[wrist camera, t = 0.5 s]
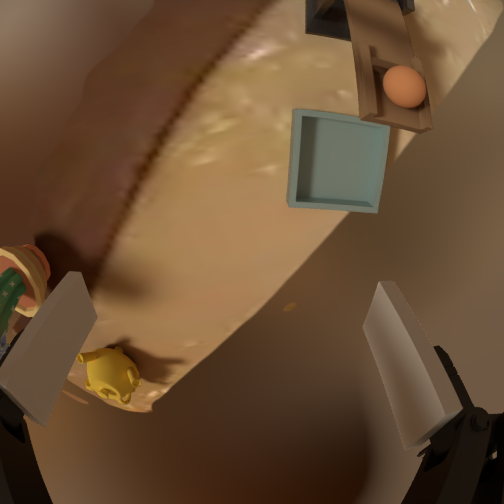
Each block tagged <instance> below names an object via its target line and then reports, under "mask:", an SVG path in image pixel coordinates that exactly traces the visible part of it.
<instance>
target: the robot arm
mask: <svg viewBox="0 0 504 504" xmlns="http://www.w3.org/2000/svg"><path fill="white" fill-rule="evenodd" d="M97 318H98V317H97V314H96V312H95V309H94V307H93V304H92V301H91V299H90V296H89V293H88V290H87V288H86V285H85V282H84V279H83V276H82V273H81V272H73V271H69V272H68V273H67V274H66V276H65V277H64V278H63V279H62V280H61V282H60V283H59V284H58V285H57V287H56V288H55V289H54V290H53V292H52V293H51V294H50V295H49V297H48V298H47V299H46V301H45V302H44V303H43V304H42V306H41V307H40V308H39V310H38V311H37V313H36V314H35V315H34V317H33V318H32V319H31V321H30V322H29V324H28V325H27V327H26V328H25V329H23V330H22V331H20V332H19V333H18V334H17V335H16V336H15V337H14V339H13V340H12V342H11V343H10V347H9V346H8V348H7V350H6V351H5V352H6V353H4V354H3V356H2V358H1V359H0V504H53V503H52V500H51V498H50V496H49V493H48V491H47V488H46V486H45V483H44V481H43V478H42V475H41V473H40V470H39V467H38V464H37V461H36V457H35V454H34V451H33V447H32V444H31V440H30V436H29V432H28V428H27V424H26V421H25V419H24V418H23V416H24V414H26V416H28V417H29V418H30V419H31V420H32V421H34V422H35V423H37V424H40V425H42V426H44V427H46V424H47V422H48V419H49V416H50V414H51V412H52V409H53V407H54V404H55V402H56V400H57V397H58V395H59V393H60V391H61V388H62V386H63V384H64V382H65V380H66V378H67V375H68V373H69V371H70V369H71V367H72V365H73V363H74V361H75V359H76V357H77V355H78V353H79V351H80V349H81V347H82V345H83V343H84V342H85V340H86V338H87V336H88V334H89V332H90V330H91V329H92V327H93V325H94V323H95V321H96V320H97ZM363 330H364V332H365V335H366V337H367V340H368V343H369V345H370V348H371V350H372V353H373V356H374V358H375V361H376V364H377V366H378V369H379V372H380V375H381V378H382V381H383V383H384V386H385V389H386V392H387V395H388V398H389V401H390V404H391V408H392V411H393V414H394V417H395V420H396V424H397V427H398V430H399V434H400V437H401V441H402V444H403V448H404V450H408V449H411V448H414V447H417V446H420V445H422V444H423V443H424V442H426V441H427V440H428V439H430V442H431V444H430V445H429V446H427V447H426V448H424V449H423V450H422V451H421V452H419V454H418V455H417V456H418V457H420V456H421V455H423V454H424V453H425V455H424V457H423V460H422V462H421V465H420V467H419V469H418V472H417V473H416V476H415V478H414V480H413V482H412V484H411V486H410V488H409V490H408V492H407V494H406V495H405V497H404V499H403V501H402V503H401V504H504V412H503V413H502V414H488V413H487V412H486V410H484V409H483V408H480V407H474V405H473V403H472V401H471V399H470V397H469V395H468V393H467V391H466V389H465V386H464V384H463V383H462V380H461V379H460V376H459V375H457V371H456V369H455V367H453V363H452V361H451V359H450V357H449V355H448V354H447V353H446V352H445V351H444V350H443V349H442V348H441V347H440V346H434V347H433V346H432V344H431V342H430V340H429V339H428V337H427V335H426V333H425V332H424V330H423V328H422V326H421V325H420V323H419V321H418V319H417V318H416V316H415V314H414V313H413V311H412V309H411V308H410V306H409V305H408V303H407V301H406V300H405V298H404V296H403V295H402V293H401V292H400V290H399V289H398V287H397V286H396V284H395V283H394V281H379V283H378V286H377V289H376V292H375V294H374V298H373V300H372V303H371V306H370V309H369V312H368V314H367V317H366V319H365V322H364V325H363ZM496 451H497V457H496V458H495V459H493V457H492V454H493V453H494V452H496Z"/></svg>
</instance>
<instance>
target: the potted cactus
mask: <svg viewBox="0 0 504 504" xmlns="http://www.w3.org/2000/svg"><path fill="white" fill-rule="evenodd" d="M49 276H50V266H49V263H48V261H47V259H46V257H45V255H44V254H43V253H42V252H41V251H40V250H39V248H38V247H37V246H34V245H32V244H26V245H24V246H14V247H10V248H9V247H7V246H4V247H2V248H0V359H1V358H2V356H3V354H4V353H5V351H6V350H7V348H8V346H9V344H7V343H6V333H7V330H8V326H9V321H10V317H11V315H12V313H13V311H14V309H15V310H16V311H18V312H20V313H21V314H23V315H25V316H27V317H34V315H35V314H36V313H37V311H38V310H39V308H40V307H41V306H42V304H43V303H44V302H45V299H44V294H45V291H46V288H47V280H48V278H49Z"/></svg>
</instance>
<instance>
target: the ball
mask: <svg viewBox="0 0 504 504" xmlns="http://www.w3.org/2000/svg"><path fill="white" fill-rule="evenodd" d="M383 87H384V91H385V93H386V95H387V96H388V98H389V99H390V100H391V101H392V102H393V103H395V104H396V105H398V106H401V107H404V108H412V107H416V106H418V105H419V104H420V103H421V102H422V101H423V100H424V98H425V95H426V85H425V82H424V80H423V78H422V77H421V75H420V74H419V73H418V72H417V71H415V70H414V69H412V68H410V67H407V66H402V65H399V66H394V67H392V68H390V69H389V70H388V71H387V72H386V74H385V76H384V79H383Z"/></svg>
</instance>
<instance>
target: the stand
mask: <svg viewBox="0 0 504 504" xmlns="http://www.w3.org/2000/svg"><path fill="white" fill-rule="evenodd" d="M397 1H398V4H399V6H400V9H401V12H402V15H403V16H404V15H406V14H409V13H411V12H413V11H415V7H414V0H397ZM305 33H306V34H313V35H320V36H326V37H331V38H337V39H342V40H346V41H351V35H350V29H349V24H348V18H347V13H346V8H345V4H344V0H306V20H305ZM351 42H352V41H351Z"/></svg>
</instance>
